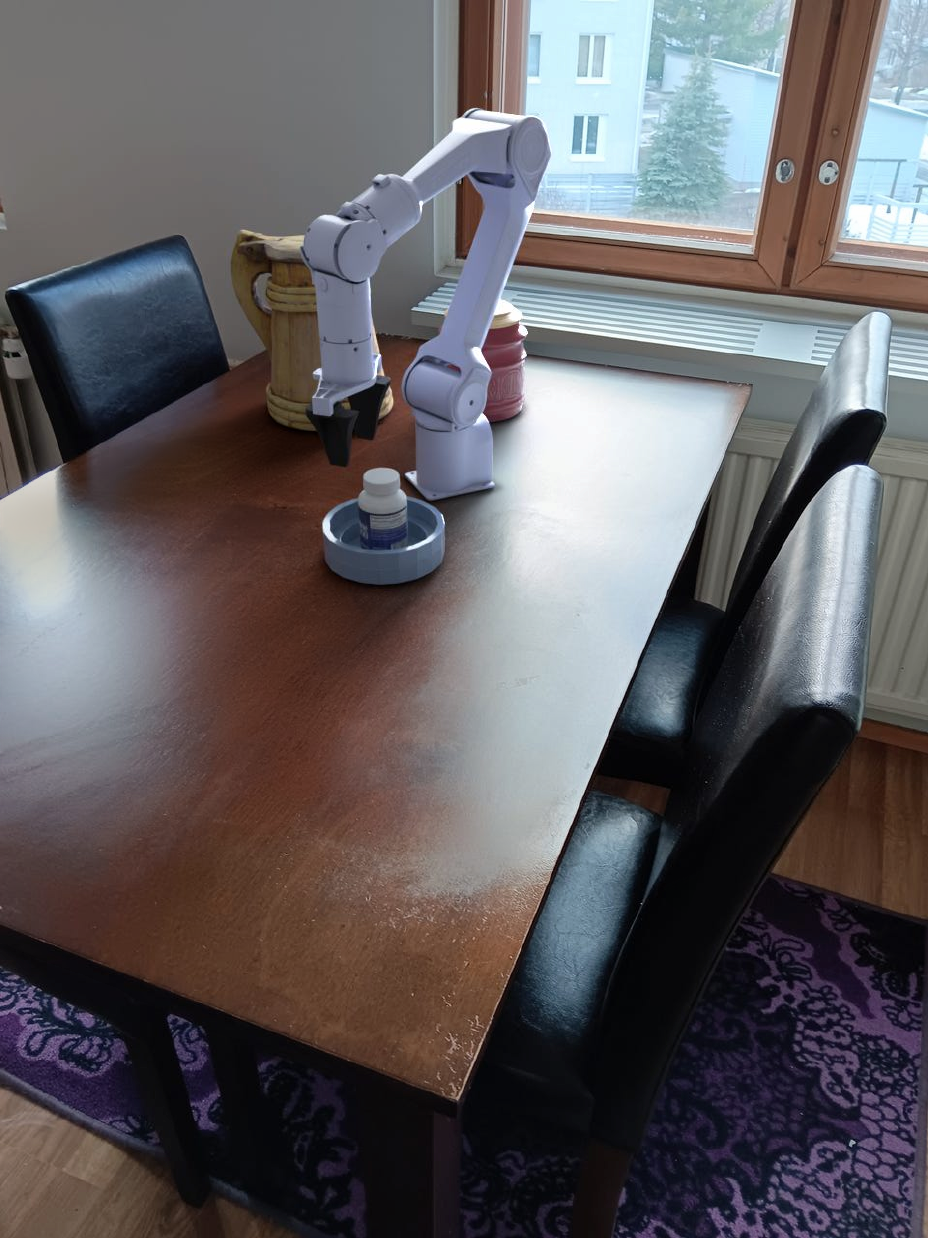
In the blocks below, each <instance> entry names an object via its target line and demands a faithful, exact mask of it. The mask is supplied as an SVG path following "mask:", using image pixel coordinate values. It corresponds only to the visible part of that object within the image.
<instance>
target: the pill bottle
mask: <svg viewBox="0 0 928 1238" xmlns="http://www.w3.org/2000/svg"><path fill="white" fill-rule="evenodd" d="M362 484H363V490H362V491H361V492H360V493H359V495H358V497H357V498H358V511H359V528H360V542H361V549H369V550H393V549H400V548H404V547H408V536H407V499H406V496H407V495H406V493H405V492H404V490H402V489H401V475H400V473H399V471H397V470H395V469H392V468H390V467H389V468H387V467H377V468H376V467H375V468H372V469H369V470H367V471H366V472H364V474H363V475H362Z"/></svg>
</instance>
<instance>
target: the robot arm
mask: <svg viewBox="0 0 928 1238" xmlns="http://www.w3.org/2000/svg"><path fill="white" fill-rule="evenodd" d="M550 142H551V141H550V137H549V132H548V129H547V126H546V124H545V123H544V122H543V120H542V119H541V118H539V117H537V116H535V115H526V116H525V115H518V114H510V113H503V112H497V111H489V110H485V109H483V108H478V107H473V108H470V109H468V110H467V111H466V112H464V113H463V115H461V117H458V118H456V119H453V121H452V122H451V125H450V129H449V133H448V134H447V135H446V136H445V137H443V139H442V140H441V141H439V142H438V143H437V144H436V145H435V146H434V147H433V148H432V149H431V150H429V152H427V154H425V155H424V156H423V157H422V158H421V159H420V160H419V161H418V162H417V163H415V164H414V166H412V167H411V168H410V169H409V170H408V171H407V172H406V173H404V175H402V176H400V175H398V174H395V173H387V174H380V173H379V174H377V175H376V176H375V177H373V178H372V179H371V184H372V185H371V186H369V187H368V188H367V189H365V190H364V191H363V192H362V193H361V194H359V195H358V196H357V197H355V198H354V199H353V200H351V201H345V202H344V203H343V204H341V206H340V210H339V211H337V213H336V214H335V215H332V214H323V215H320V216H318V217H317V218H315V219H314V220H313V221H312V222H311V223H310V224H309V225H308V227H307V229H306V230H305V233H304V235H305V236H304V243H303V245H302V246H300V253H301V256H302V259H303V261H304V263H305V264H306V266H307V267H308V268H309V269H310V271H311V275H312V284H314V285H315V288H316V301H317V314H318V327H319V339H320V353H321V366H322V368H319V369H317V370H316V371H314V372H313V379H315V380H319V384H318V388H317V391H316V393H315V395H314V396H313V397H312V402H311V403H310V404H309V405H308V406H307V407H306V408H305V409H306V417H307V418H308V419H309V420H310V422H311V423H312V424H313V426H314V427H315V429H316V431H315V432H317V435H318V436H319V438H320V441H321V444H322V446H323V450H324V452H325V454H326V458H327V461H328V463H329V465H330V466H335V467H342V468H347V467H348V466H349V464H350V460H351V454H352V453H351V452H352V436H353V431H354V434H355V437H356V439H360V440H366V441H373V440H375V437H376V434H377V430H378V429H377V428H378V425H379V424H378V423H379V420H380V419H379V414H380V409H381V405H382V402H383V399H384V396H385V394H386V392H387V390H388V388H389V386H390V387H391V378H390V377H389V376H386V375H384V376H380V375H377V373H379V372H380V371H382V368H383V365H382V366H381V364H382V355H381V354H380V355H378V354H373V342H372V322H371V314H372V303H371V302H372V301H371V293H370V289H371V281H370V280H371V279H370V278H371V277H373V276H374V275H375V274H376V272H377V270H378V268H379V265H380V263H381V259H382V257H383V255H385V253H387V249H388V248H389V247H390V246H391V245H393V244H394V243H395V242H397V241H398V240H399V239H400V238H401V237H402V236H404V235H405V234H406V233H407V232H408V231H410V230H411V229H412V228H413V227H415V226H416V225H417V224H418V223H419V222H420V220H421V218H422V213H423V205H424V204H426V203H427V202H429V201H430V200H431V199H433V198H435V197H437V195H439V194H440V193H443V191H445V190H447V188H449V187H451V186H452V185H453V184H455V183H456V182H458V181H459V180H461V179H462V178H464V177H466V176H467V177H468V179H469V181H470V182H471V184H472V186H473V188H474V189H475V191H476V192H477V193H478V194H479V195H480V196H481V199H482V202H483V205H484V208H483V212H482V215H481V218H480V220H479V224H478V226H477V229H476V231H475V234H474V237H473V239H472V243H471V245H470V248H469V251H468V254H467V256H466V259H465V262H464V265H463V267H462V271H461V273H460V276H459V279H458V282H457V285H456V287H455V290H454V293H453V296H452V298H451V301H450V304H449V307H448V308H447V309H448V312H447V315H446V318H445V317H444V321H443V323H442V324H443V326H442V329H441V332H440V334H439V333H438V335H437V336H435V337H433V338H432V339H430V340H428V341H426V342H425V343H423V344H421V345H420V346H419V347H418V351H417V353H416V355H415V358H414V360H413V361H412V362H411V363H410V365H409V366H408V367H407V369H406V370H405V372H404V374H403V377H402V380H401V388H400V390H401V396H402V399H403V401H404V403H405V404H406V405H407V406H408V407H410V408H411V409H410V410H411V412H410V413H411V417H413V418H414V420H415V422H414V424H415V470H413V471H408V472H407V471H406V472H405V473H404V477H405V478H406V479H407V480H408V481H409V483H411V485H412V486H413V487H415V489H416V490H418V492H419V493H420V494H421V495H422V496H423V497H424V498H425V499H426V500H427V501H429V502H430V501H431V502H432V501H436V500H441V499H446V498H450V497H455V496H460V495H464V494H469V493H473V492H474V493H475V492H477V491H483V490H487V489H488V490H489V489H492V488H494V487H495V482H494V481H493V454H494V453H493V451H494V450H493V449H494V440H493V439H494V438H493V437H494V436H493V431H492V427H491V423H490V422H488V420H487V418H486V417H485V416H484V415H483V414H482V412H483V411H484V408H485V405H486V400H487V388H488V383H489V380H490V378H491V375H492V373H491V370H490V368H489V366H488V365H487V363H486V361H485V359H484V357H483V355H482V353H481V349H482V347H483V344H484V341H485V338H486V336H487V333H488V330H489V328H490V325H491V322H492V319H493V317H494V314H495V311H496V309H497V306H498V303H499V300H501V297H502V296H503V292H504V290H505V287H506V284H507V282H508V278H509V276H510V273H511V270H512V268H513V265H514V263H515V260H516V257H517V254H518V251H519V249H520V246H521V244H522V241H523V238H524V234H525V232H526V230H527V227H528V225H529V222H530V219H531V216H532V213H533V210H534V207H535V202H536V199H537V196H538V194H539V191H540V189H541V186H542V183H543V180H544V177H545V176H546V172H547V169H548V167H549V164H550V161H551V159H552V156H553V152H552V147H551V143H550ZM446 365H454V366H457V367H460V369H461V372H460V371H457V370H454V369H451V368H448V367H446ZM345 397H347V398H348V401H349V404H350V408H351V410H347V409H345V406H343V407H342V402H341V401H342V400H343V399H344V398H345ZM353 427H354V428H353Z"/></svg>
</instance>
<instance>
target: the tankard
mask: <svg viewBox="0 0 928 1238" xmlns="http://www.w3.org/2000/svg"><path fill="white" fill-rule="evenodd" d="M304 236H305V234H304V235H303V234H302V235H291V236H274V235H273V236H272V235H271V236H269V235H264V234H262V233H260V232H253V231H251V230H246V229H240V230H239V231H237V234H236V237H237V238H236V241H235V243H234V245H233V248H232V251H231V257H230V277H231V285H232V287H233V291H234V294H235V298H236V299H237V301H238V304H239V306H240V308H241V309H242V312H243V313H244V315H245V317H246V319H247V320H248V322H249V323H250V325H251V327H252V329H254V331H255V333H256V335H257V336H258V337H259V339H260V341H261V343H262V344H263V346H264V348H265V350H266V351H267V353H268V356H269V359H270V361H271V362H270V363H271V376H270V377H271V378H270V379H271V380H270V381H269V382H268V384H267V386H266V388H265V395H266V402H267V403H266V404H267V409H268V413H269V415H270V417H272V419H274V421H275V422H276V423H278V424H279V425H282V426H285V427H288V428H291V429H296V430H301V431H308V432H309V431H310V432H317V431H316V429H315V427H314V426H313V424H312V423H311V422H310V420H309V419H308V418H307V417H306V409H305V408H306V407H307V406H308V405H309V404H310V403H311V402H312V397H313V396H314V395H315V393H316V391H317V388H318V384H319V380H315V379H313V372H314V371H316V370H317V369H319V368H322V366H321V353H320V339H319V327H318V314H317V301H316V288H315V285H314V284H312V275H311V271H310V269H309V268H308V267H307V266H306V264H305V263H304V261H303V259H302V256H301V253H300V246H302V245H303V243H304ZM265 274H270V276H268V277H267V278H266V287H265V292H264V298H265V302H266V303H267V305H268V306H267V305H266V303H264V301H263V299H262V298H261V296H260V294H259V292H258V288H259V287H258V282H259V280H260V279H261V277H262V275H265ZM371 292H372V290H371V288H370V294H371ZM371 322H372V342H373V354H378V355H381V354H380V349H379V344H378V340H377V336H376V329H375V325H374V319H373V316H372V313H371ZM381 366H382V371H380V372H379V373H377V375H380V376H385V372H384V368H383V364H382V363H381ZM341 402H342V407H343V406H345V409H347V410H351V408H350V404H349V401H348V398H347V397H345V398H344V399H343V400H342V401H341ZM393 407H394V397H393V391H392V389H391V385H390V386H389V388H388V390H387V392H386V394H385V396H384V399H383V402H382V405H381V409H380V414H379V419H378V420H381V419H383V418H384V417H385V416H386V415H388V414H389V412H391V410H392V408H393ZM353 429H354V427H353Z"/></svg>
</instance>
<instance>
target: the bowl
mask: <svg viewBox="0 0 928 1238" xmlns="http://www.w3.org/2000/svg"><path fill="white" fill-rule="evenodd" d="M406 499H407V536H408V547H404V548H400V549H393V550H369V549H361V542H360V528H359V511H358V497H357V498H351V499H350V500H347V501H345V502H343V503H342V502H341V503H340V504H338V505H336V506H335V507H333V508H332V509H331V510H329V511H328V512H327V513H326V515H325V516H324V518H323V519H322V523H321V527H322V541H323V552H324V562H325V563H326V564H327V566H328V567H329V569H330V570H331V571H332V572H334V573H335V574H337V575H338V576H340V577H342V578H344V579H347V580H350V581H353V582H356V583H361V584H368V585H376V586H377V585H380V586H382V585H383V586H384V585H395V584H396V585H397V584H403V583H406V582H411V581H414V580H418V579H420V578H422V577H424V576H426V575H429V574H430V573H432V572H433V571H434V570H436V569H437V568H438V566H439V565H440V564H441V563H442V561H443V559H444V556H445V554H446V551H445V549H446V547H445V546H446V544H445V543H446V541H445V540H446V538H445V537H446V532H445V531H446V530H445V528H446V524H445V519H444V516H443V514H442V513H441V512H440V511H439V510H438V509H437V508H436V506H434V505H432V504H430V503H428V502H426V501H424V500H423V499H419V498H415V497H412V496H408V495H406Z"/></svg>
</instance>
